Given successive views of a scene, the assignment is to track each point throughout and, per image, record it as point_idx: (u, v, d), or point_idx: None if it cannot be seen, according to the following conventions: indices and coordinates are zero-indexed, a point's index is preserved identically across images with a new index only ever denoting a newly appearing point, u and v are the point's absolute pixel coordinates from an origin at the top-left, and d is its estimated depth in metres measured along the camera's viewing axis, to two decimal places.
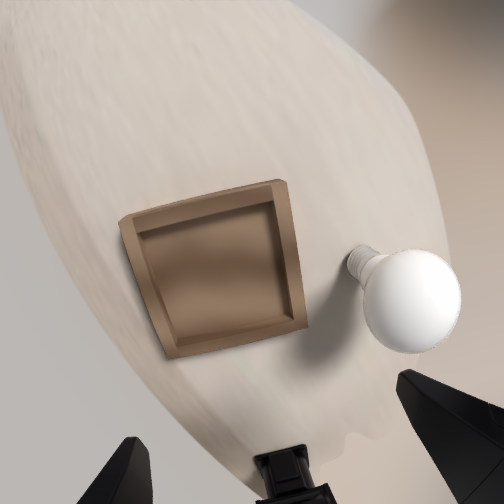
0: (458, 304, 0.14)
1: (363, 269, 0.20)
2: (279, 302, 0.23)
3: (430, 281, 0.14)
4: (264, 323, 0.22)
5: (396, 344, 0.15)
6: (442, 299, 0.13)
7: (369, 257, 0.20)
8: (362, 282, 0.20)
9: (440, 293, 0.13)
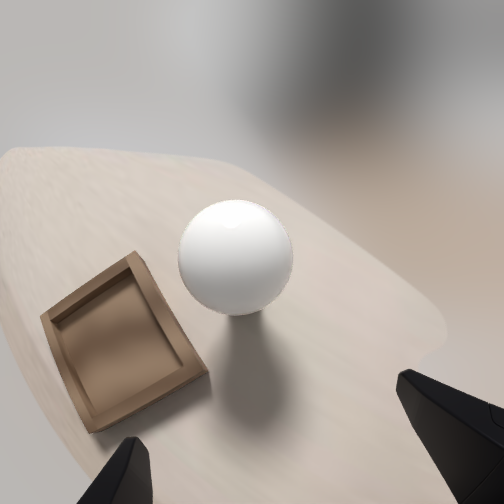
0: (248, 209, 0.15)
1: None
2: (173, 358, 0.21)
3: (201, 211, 0.16)
4: None
5: (203, 284, 0.14)
6: (214, 211, 0.15)
7: None
8: None
9: (210, 210, 0.15)
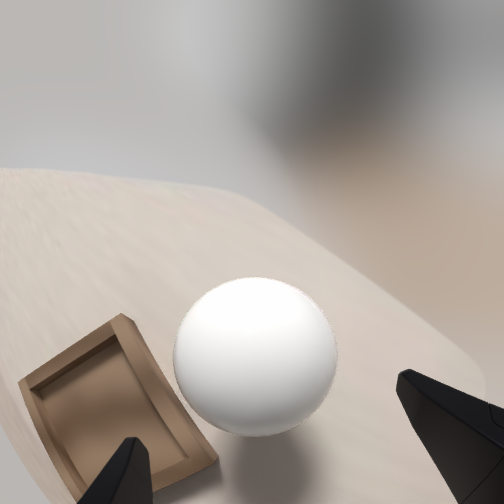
0: (278, 305, 0.09)
1: None
2: (175, 445, 0.15)
3: (204, 300, 0.10)
4: (163, 469, 0.14)
5: (214, 415, 0.09)
6: (225, 309, 0.09)
7: None
8: None
9: (219, 304, 0.10)
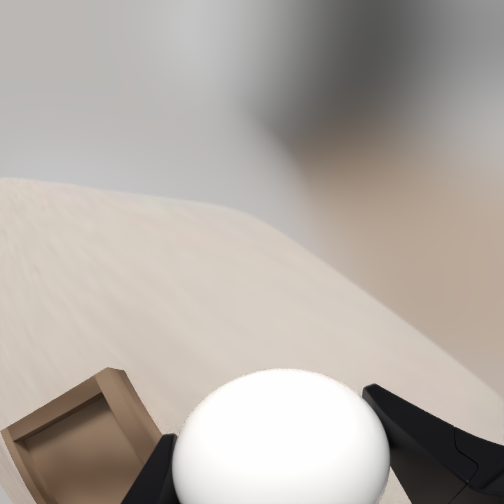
0: (326, 438, 0.05)
1: None
2: None
3: (213, 421, 0.06)
4: None
5: None
6: (246, 447, 0.05)
7: None
8: None
9: (236, 436, 0.06)
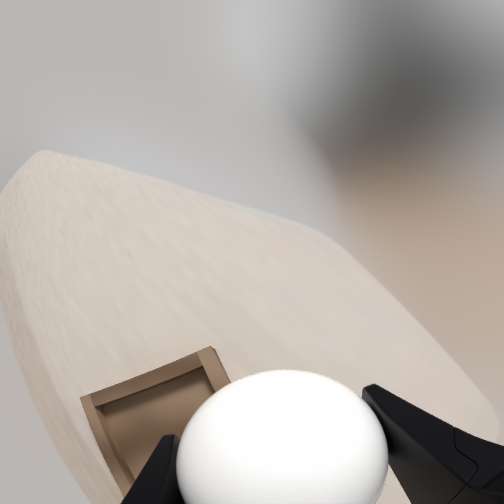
0: (317, 441, 0.05)
1: None
2: None
3: (210, 422, 0.06)
4: None
5: None
6: (239, 449, 0.05)
7: None
8: None
9: (230, 438, 0.06)
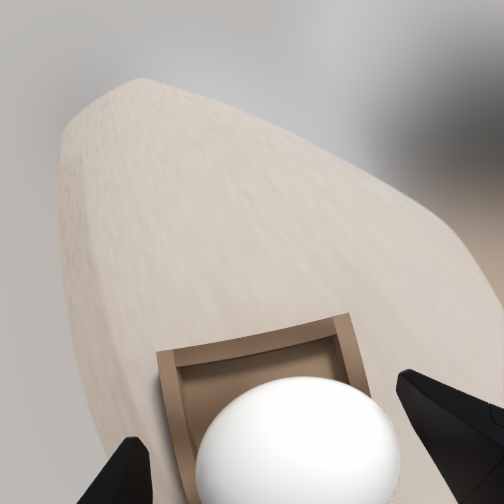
0: (345, 444, 0.06)
1: None
2: None
3: (237, 432, 0.06)
4: None
5: None
6: (272, 456, 0.05)
7: None
8: None
9: (262, 446, 0.06)
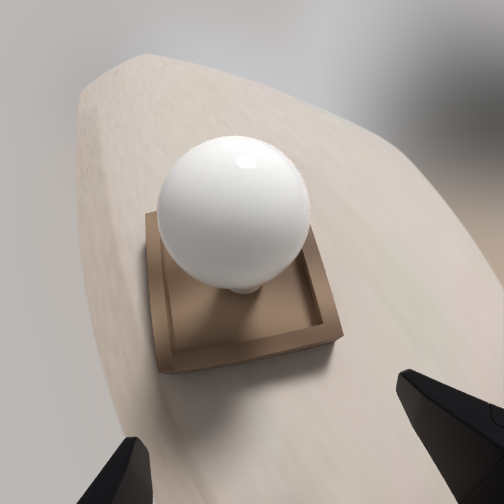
0: (249, 140, 0.11)
1: None
2: (305, 314, 0.18)
3: None
4: None
5: (189, 239, 0.10)
6: (204, 145, 0.11)
7: None
8: None
9: (200, 144, 0.11)
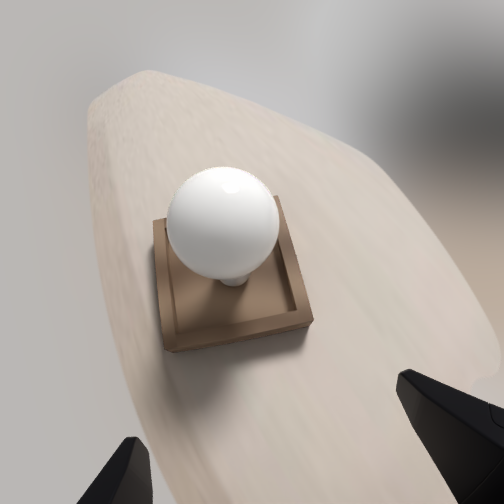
0: (233, 172, 0.15)
1: None
2: (283, 302, 0.23)
3: (189, 178, 0.16)
4: None
5: (190, 243, 0.14)
6: (200, 175, 0.15)
7: None
8: None
9: (197, 174, 0.15)
